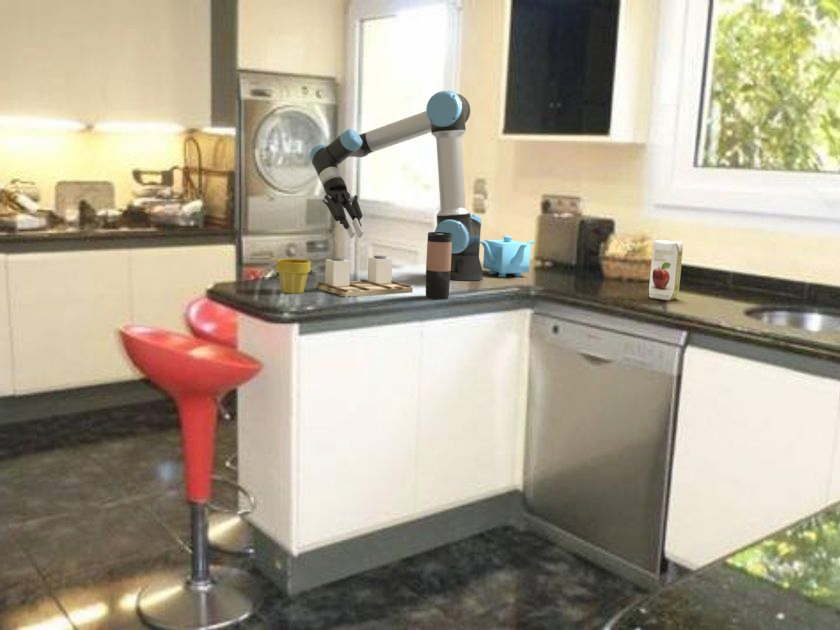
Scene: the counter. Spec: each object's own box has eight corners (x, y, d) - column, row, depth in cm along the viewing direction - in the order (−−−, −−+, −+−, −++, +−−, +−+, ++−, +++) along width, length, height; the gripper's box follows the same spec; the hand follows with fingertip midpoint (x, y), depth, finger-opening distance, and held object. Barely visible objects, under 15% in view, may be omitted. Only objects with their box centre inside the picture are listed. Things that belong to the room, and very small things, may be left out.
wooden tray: (316, 288, 267) (316, 281, 267) (381, 283, 282) (381, 277, 281) (345, 297, 253) (345, 290, 252) (412, 292, 268) (412, 285, 267)
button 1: (325, 284, 265) (325, 257, 264) (341, 283, 269) (342, 256, 267) (333, 286, 261) (333, 259, 260) (349, 285, 265) (350, 258, 263)
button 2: (367, 281, 275) (368, 255, 273) (382, 280, 278) (383, 255, 277) (375, 284, 271) (376, 257, 269) (391, 282, 274) (392, 256, 273)
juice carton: (655, 295, 282) (660, 239, 279) (680, 298, 277) (685, 241, 274) (646, 297, 277) (651, 240, 273) (670, 301, 271) (676, 243, 268)
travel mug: (450, 296, 263) (453, 232, 260) (448, 300, 256) (451, 234, 252) (425, 294, 264) (428, 231, 260) (423, 298, 256) (426, 233, 253)
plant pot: (317, 292, 260) (317, 260, 259) (294, 295, 252) (294, 263, 250) (292, 288, 266) (292, 257, 264) (269, 291, 258) (269, 260, 256)
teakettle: (488, 270, 327) (490, 232, 325) (535, 274, 321) (538, 236, 318) (475, 276, 310) (477, 236, 307) (524, 280, 304) (527, 240, 301)
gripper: (348, 190, 300) (371, 241, 291) (309, 190, 291) (332, 242, 281) (356, 176, 295) (380, 227, 285) (317, 175, 286) (341, 228, 276)
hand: (356, 235), depth 283 cm, fingers open, 3 cm apart
